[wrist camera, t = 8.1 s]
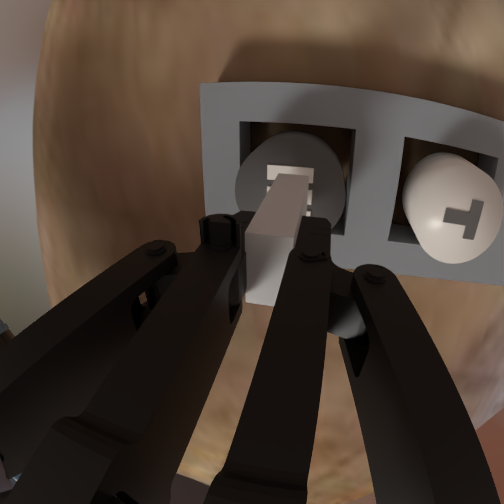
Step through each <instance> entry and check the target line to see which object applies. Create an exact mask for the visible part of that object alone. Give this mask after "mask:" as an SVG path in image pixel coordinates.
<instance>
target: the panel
mask: <svg viewBox="0 0 504 504" xmlns="http://www.w3.org/2000/svg"><path fill="white" fill-rule="evenodd" d="M200 111H201V139H202V162H203V181H204V198H205V214H206V216H208V215H212V214H230V215H234V214H236V213H237V212H239V209H238V206H237V202H236V198H235V182H236V177H237V174H238V171H239V169H240V167H241V165H242V164H243V162H244V161H245V159H246V158H247V157H248V156H249V155H250V122H277V123H294V124H308V125H320V126H331V127H340V128H349V129H352V134H351V146H350V158H349V168H348V178H347V187H346V198H345V205H344V212H343V217H340V219H339V220H338V222H337V223H336V225H335V226H334V227H333V228H332V229H331V252H330V255H331V258H332V261H333V263H334V264H335V265H337V266H338V267H340V268H347V269H356V267H358V266H360V265H364V264H377V265H381V266H383V267H385V268H387V269H389V270H390V271H392V272H393V273H394V274H400V275H409V276H419V277H428V278H437V279H446V280H455V281H464V282H474V283H483V284H492V285H502V286H504V122H503V121H500V120H497V119H494V118H491V117H488V116H485V115H481V114H478V113H475V112H471V111H468V110H464V109H461V108H457V107H453V106H449V105H445V104H441V103H437V102H433V101H428V100H423V99H419V98H414V97H409V96H404V95H398V94H392V93H386V92H380V91H374V90H367V89H359V88H351V87H342V86H332V85H321V84H307V83H288V82H218V83H200ZM404 137H410V138H415V139H420V140H425V141H430V142H435V143H440V144H445V145H449V146H453V147H458V148H462V149H466V150H470V151H474V152H478V153H479V159H478V164H477V167H478V168H479V169H481V170H482V171H484V172H485V173H486V174H488V175H489V176H490V177H491V178H492V179H493V180H494V182H495V183H496V184H497V186H498V188H499V190H500V193H501V196H502V200H503V219H502V223H501V227H500V229H499V232H498V234H497V236H496V238H495V239H494V241H493V242H492V244H491V245H490V246H489V247H488V248H487V249H486V250H485V251H484V252H483V253H482V254H480V255H479V256H477V257H476V258H474V259H472V260H470V261H467V262H463V263H457V264H450V263H444V262H441V261H438V260H436V259H434V258H432V257H431V256H430V255H429V254H428V253H426V252H425V250H424V249H423V248H422V246H421V245H420V243H419V241H418V239H417V237H416V235H415V233H414V231H413V229H412V227H411V226H406V225H398V224H391V222H392V216H393V211H394V206H395V200H396V194H397V188H398V182H399V176H400V169H401V162H402V154H403V146H404Z"/></svg>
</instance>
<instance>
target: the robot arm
mask: <svg viewBox="0 0 504 504" xmlns="http://www.w3.org/2000/svg"><path fill="white" fill-rule="evenodd" d="M308 186H309V176H305V175H294V174H283V173H278V175H277V177H276V179H275V180H274V182H273V184H272V185H271V187H270V189H269V191H268V192H267V194H266V196H265V198H264V199H263V201H262V203H261V205H260V206H259V208H258V210H257V212H253V211H242V210H241V211H239V212H237V213H236V214H234V215H230V214H212V215H208V216H205V217H203V218H202V219H200V220H199V224H200V236H201V244H200V246H199V247H198V248H197V250H196V251H195V252H189V253H177V251H176V246H175V245H174V243H172V242H170V241H164V240H154V241H152V242H148V243H146V244H144V245H142V246H140V247H139V248H137V249H136V250H134V251H133V252H131V253H130V254H128V255H127V256H125V257H124V258H122V259H121V260H119V261H118V262H117V263H115V264H114V265H112V266H111V267H109V268H108V269H106V270H105V271H103V272H102V273H101V274H99V275H98V276H96V277H95V278H93V279H92V280H91V281H89V282H88V283H86V284H85V285H84V286H82V287H81V288H79V289H78V290H77V291H75V292H74V293H72V294H71V295H70V296H68V297H67V298H66V299H64V300H63V301H61V302H60V303H59V304H57V305H56V306H55V307H53V308H52V309H51V310H50V311H48V312H47V313H46V314H44V315H43V316H41V317H40V318H39V319H38V320H36V321H35V322H33V323H32V324H31V325H30V326H28V327H27V328H26V329H24V330H23V331H22V332H21V333H19V334H18V335H17V336H16V337H15V336H14V335H13V334H12V333H11V331H10V330H9V327H8V325H7V324H6V323H4V322H3V321H2V320H1V319H0V504H169V503H170V499H171V485H172V482H173V479H174V477H175V474H176V472H177V470H178V467H179V465H180V463H181V460H182V458H183V455H184V453H185V451H186V448H187V446H188V443H189V441H190V439H191V436H192V434H193V431H194V429H195V426H196V424H197V422H198V419H199V417H200V414H201V412H202V409H203V407H204V404H205V402H206V400H207V397H208V395H209V392H210V390H211V387H212V385H213V382H214V380H215V377H216V375H217V372H218V370H219V368H220V365H221V363H222V360H223V358H224V355H225V353H226V350H227V348H228V345H229V343H230V340H231V338H232V335H233V333H234V330H235V328H236V325H237V323H238V320H239V318H240V315H241V313H242V298H243V296H244V293H245V291H246V302H247V303H254V304H261V305H268V306H274V309H273V312H272V316H271V319H270V322H269V326H268V329H267V333H266V336H265V339H264V343H263V346H262V349H261V353H260V356H259V359H258V363H257V366H256V369H255V372H254V376H253V379H252V382H251V385H250V388H249V392H248V395H247V398H246V401H245V404H244V407H243V410H242V414H241V417H240V420H239V423H238V426H237V429H236V432H235V435H234V438H233V441H232V444H231V447H230V450H229V453H228V456H227V459H226V462H225V464H224V467H223V468H222V470H221V471H220V472H219V473H218V474H217V475H216V476H215V478H214V480H213V481H212V483H211V485H210V488H209V490H208V493H207V495H206V498H205V501H204V503H203V504H306V502H307V493H308V491H307V480H308V474H309V468H310V462H311V457H312V451H313V444H314V438H315V431H316V425H317V418H318V410H319V403H320V395H321V387H322V378H323V369H324V360H325V349H326V339H327V332H329V333H332V334H335V335H337V336H339V344H340V348H341V351H342V355H343V359H344V363H345V366H346V370H347V374H348V378H349V382H350V386H351V389H352V393H353V397H354V401H355V406H356V410H357V414H358V418H359V422H360V427H361V431H362V435H363V440H364V444H365V449H366V453H367V458H368V463H369V467H370V472H371V477H372V482H373V487H374V492H375V497H376V503H377V504H501V503H500V500H499V497H498V493H497V490H496V487H495V484H494V481H493V478H492V475H491V472H490V469H489V466H488V464H487V460H486V458H485V455H484V452H483V450H482V447H481V444H480V442H479V439H478V437H477V434H476V432H475V429H474V427H473V424H472V422H471V420H470V417H469V415H468V413H467V410H466V408H465V406H464V404H463V401H462V399H461V397H460V395H459V392H458V390H457V388H456V386H455V384H454V382H453V380H452V378H451V376H450V374H449V371H448V369H447V367H446V365H445V363H444V361H443V359H442V357H441V356H440V354H439V352H438V350H437V348H436V346H435V344H434V342H433V340H432V338H431V336H430V335H429V333H428V331H427V329H426V327H425V325H424V324H423V322H422V320H421V318H420V316H419V315H418V313H417V311H416V309H415V308H414V306H413V304H412V302H411V301H410V299H409V297H408V296H407V294H406V292H405V290H404V289H403V287H402V285H401V284H400V282H399V281H398V279H397V277H396V276H395V275H394V273H393V272H392V271H390V270H389V269H387V268H385V267H383V266H381V265H377V264H364V265H360V266H358V267H356V269H355V270H354V272H353V273H352V272H349V271H346V270H344V269H342V268H340V267H338V266H337V265H335V264H334V263H333V261H332V258H331V255H330V252H331V223H330V222H329V221H328V219H327V218H320V217H311V216H306V213H307V200H308ZM144 291H145V294H146V298H147V301H146V302H145V303H143V304H140V301H139V297H138V296H139V295H141V294H142V293H143V292H144ZM11 478H14V479H15V480H16V481H17V482H16V484H15V485H14V487H13V486H12V483H11V482H10V480H9V479H11Z"/></svg>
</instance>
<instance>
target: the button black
mask: <svg viewBox="0 0 504 504" xmlns="http://www.w3.org/2000/svg"><path fill="white" fill-rule="evenodd" d="M278 173H283V174H294V175H305V176H309V186H308V200H307V213H306V216H311V217H320V218H327V219H328V221H329V222H330V223H331V229H332V228H333V227H334V226H335V225H336V223H337V222H338V220H339V219H340V217H341V215H342V212H343V209H344V205H345V198H346V192H345V183H344V177H343V171H342V167H341V163H340V161H339V158H338V156H337V155H336V153H335V152H334V150H333V149H332V148H331V147H330V146H329V145H328V144H327V143H326V142H325V141H324V140H322V139H321V138H319V137H317V136H316V135H313V134H311V133H307V132H304V131H285V132H281V133H278V134H275V135H273V136H271V137H270V138H268V139H267V140H265V141H264V142H263V143H262V144H261V145H260V146H258V147H257V148H256V149H255V150H254V151H253V152H252V153H251V154H250V155H249V156H248V157H247V158H246V159H245V161H244V162H243V164H242V165H241V167H240V169H239V171H238V174H237V177H236V182H235V198H236V202H237V206H238V209H239V211H241V210H242V211H253V212H257V210H258V208H259V206H260V205H261V203H262V201H263V199H264V198H265V196H266V194H267V192H268V191H269V189H270V187H271V185H272V184H273V182H274V180H275V179H276V177H277V175H278Z"/></svg>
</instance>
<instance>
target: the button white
mask: <svg viewBox="0 0 504 504" xmlns="http://www.w3.org/2000/svg"><path fill="white" fill-rule="evenodd" d="M402 203H403V209H404V212H405V215H406V217H407V219H408V221H409V223H410V225H411V227H412V229H413V231H414V233H415V235H416V237H417V239H418V241H419V243H420V245H421V246H422V248H423V249H424V250H425V252H426V253H428V254H429V255H430V256H431V257H432V258H434V259H436V260H438V261H441V262H444V263H450V264H457V263H463V262H467V261H470V260H472V259H474V258H476V257H477V256H479V255H480V254H482V253H483V252H484V251H485V250H486V249H487V248H488V247H489V246H490V245H491V244H492V242H493V241H494V239H495V238H496V236H497V234H498V232H499V229H500V227H501V223H502V219H503V200H502V196H501V193H500V190H499V188H498V186H497V184H496V183H495V182H494V180H493V179H492V178H491V177H490V176H489V175H488V174H486V173H485V172H484V171H482V170H481V169H479V168H478V167H476V166H475V165H473V164H472V163H470V162H469V161H467V160H466V159H464V158H463V157H461V156H459V155H457V154H454V153H449V152H438V153H434V154H431V155H428V156H426V157H424V158H423V159H421V160H420V161H419V162H418V163H417V164H415V166H414V167H413V168H412V169H411V171H410V172H409V174H408V176H407V178H406V180H405V183H404V186H403V192H402Z"/></svg>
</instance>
